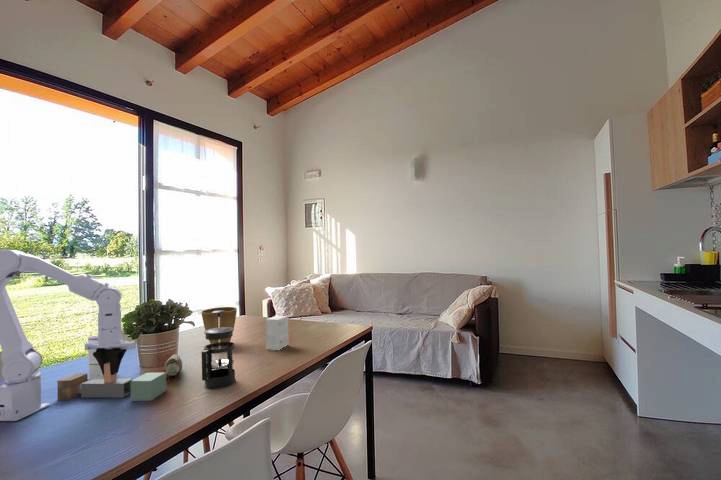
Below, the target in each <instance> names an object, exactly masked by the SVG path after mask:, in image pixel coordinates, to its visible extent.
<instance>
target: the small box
mask: <svg viewBox="0 0 721 480" xmlns="http://www.w3.org/2000/svg"><path fill="white" fill-rule="evenodd" d="M264 321H265V342H266V345H265V347H266V350H267V349H273V350H272V351H275V350H279V351H281V350H283V349H284V348H283V347H285V346H287V345H289V343H290V342H289V341H290V340H289V339H290V338H289V317H288V316H287V315H273V316H272V317H269V318H266V319H265V320H264ZM287 347H288V346H287ZM282 348H283V349H282ZM285 348H286V347H285ZM280 349H281V350H280Z"/></svg>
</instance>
